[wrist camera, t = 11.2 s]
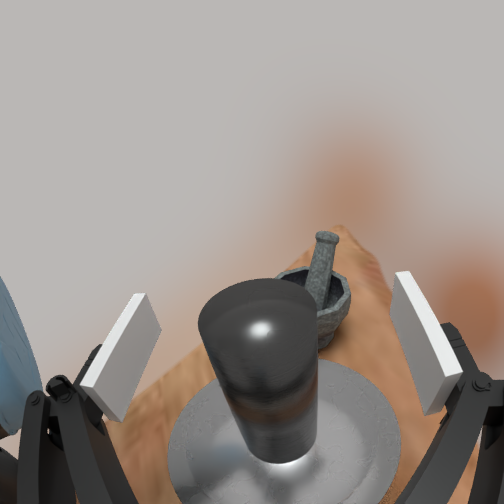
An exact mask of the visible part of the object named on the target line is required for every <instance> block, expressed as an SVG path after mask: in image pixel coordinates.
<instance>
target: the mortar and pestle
mask: <svg viewBox="0 0 504 504" xmlns="http://www.w3.org/2000/svg"><path fill="white" fill-rule="evenodd" d="M316 240H317V243H316V246H315V250H314V254H313V258H312V261H311V265H310V267H306V266H304V267H300V268H296V269H293V270H289V271H285V272H281V273H280V274H279V275H278V276H277V277H275V278H274V279H282V280H287V281H290V282H293V283H296V284H298V285H300V286H302V287H303V288H305V289H306V290H307V291H308V292H309V293H310V294H311V295H312V296H313V298H314V300H315V302H316V306H317V325H318V349H321V348H324V347H326V346H327V345H328V344H329V342H330V341H331V340H332V338H333V337H334V331H335V330H336V328H337V327H338V326H339V324H340V323H341V322H342V320H343V319H344V318H345V316H346V315H347V314H348V311H349V307H350V303H351V292H350V289H349V285H348V282H347V279H346V278H345V277H344V276H342V275H340V274H338V273H336V272H334V271H333V270H332V268H333V261H334V254H335V247H336V245H337V243H338V242H339V236H338V235H336V234H334V233H332V232H328V231H319V232H317V233H316Z"/></svg>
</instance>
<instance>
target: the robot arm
mask: <svg viewBox="0 0 504 504" xmlns="http://www.w3.org/2000/svg"><path fill="white" fill-rule="evenodd" d="M390 317H391V320H392V322H393V325H394V327H395V330H396V332H397V335H398V338H399V340H400V343H401V346H402V348H403V351H404V354H405V357H406V360H407V362H408V365H409V368H410V371H411V374H412V377H413V380H414V383H415V386H416V389H417V393H418V396H419V399H420V402H421V406H422V409H423V412H424V416H427V415H430V414H434V413H438V412H440V411H441V410H442V408H443V407H444V405H445V406H446V409H447V413H446V414H445V416H444V417H443V419H442V420H441V422H440V424H441V425H440V427H439V429H438V431H437V433H436V435H435V437H434V439H433V441H432V443H431V445H430V447H429V449H428V450H427V452H426V454H425V456H424V458H423V459H422V461H421V463H420V465H419V466H418V468H417V470H416V471H415V473H414V475H413V476H412V478H411V479H410V481H409V482H408V484H407V486H406V487H405V489H404V490H403V492H402V493H401V495H400V496H399V497H398V499H397V500H396V502H395V503H394V504H447V503H448V501H449V499H450V497H451V495H452V494H453V492H454V490H455V488H456V486H457V484H458V482H459V480H460V478H461V476H462V474H463V472H464V470H465V467H466V465H467V463H468V461H469V458H470V456H471V454H472V451H473V449H474V447H475V444H476V441H477V439H478V436H479V434H480V430H481V428H482V425H483V428H482V436H481V443H480V450H479V456H478V461H477V467H476V472H475V476H474V481H473V485H472V489H471V493H470V497H469V501H468V504H504V380H492V379H491V377H490V376H489V375H487V374H486V373H484V372H480V371H479V370H478V367H477V365H476V363H475V361H474V359H473V357H472V355H471V354H470V352H469V350H468V348H467V346H466V344H465V342H464V340H463V339H462V337H461V335H460V333H459V331H458V329H457V328H455V327H454V326H453V325H452V324H451V323H450V322H449V323H444V324H439V322H438V321H437V319H436V317H435V315H434V313H433V311H432V309H431V308H430V306H429V304H428V302H427V301H426V299H425V297H424V295H423V294H422V292H421V291H420V289H419V287H418V285H417V284H416V282H415V280H414V279H413V277H412V275H411V274H410V272H409V271H405V272H396V273H395V280H394V288H393V295H392V302H391V308H390ZM160 333H161V327H160V325H159V323H158V321H157V319H156V316H155V314H154V311H153V309H152V307H151V304H150V302H149V300H148V297H147V295H146V293H140V294H134V295H133V297H132V298H131V300H130V301H129V303H128V304H127V306H126V308H125V309H124V311H123V312H122V314H121V315H120V317H119V319H118V321H117V322H116V324H115V325H114V327H113V328H112V330H111V332H110V334H109V335H108V337H107V338H106V340H105V342H104V343H103V344H99V345H98V346H97V347H96V348H95V349H94V350H93V351H92V352H91V354H90V356H89V357H88V360H87V361H86V362H85V364H84V366H83V368H82V369H81V371H80V373H79V374H78V376H77V378H76V380H75V381H74V383H73V385H72V384H71V382H70V381H69V380H68V379H67V377H65V376H64V375H57V376H55V377H53V378H51V379H50V381H49V382H48V383H47V385H46V391H47V392H48V394H49V395H50V396H46V395H45V394H44V392H43V387H42V382H41V379H40V374H39V371H38V367H37V364H36V361H35V358H34V355H33V352H32V349H31V346H30V343H29V340H28V338H27V335H26V333H25V330H24V327H23V324H22V322H21V319H20V317H19V314H18V312H17V310H16V307H15V305H14V303H13V300H12V298H11V296H10V294H9V292H8V290H7V288H6V286H5V284H4V282H3V280H2V279H1V277H0V439H2V438H5V437H7V436H10V435H15V434H16V433H17V432H18V430H19V429H21V428H22V429H21V437H20V446H19V458H18V460H17V459H16V458H15V457H13V456H12V455H11V454H10V453H8V452H7V451H6V450H4V449H3V448H1V447H0V504H76V495H75V491H76V494H77V497H78V500H79V503H80V504H138V502H137V500H136V498H135V496H134V494H133V491H132V489H131V487H130V485H129V483H128V481H127V479H126V476H125V474H124V472H123V470H122V467H121V465H120V463H119V460H118V458H117V455H116V453H115V450H114V448H113V445H112V442H111V440H110V437H109V434H108V431H107V429H106V426H105V423H104V421H103V419H102V416H103V413H104V414H105V415H106V416H107V418H108V419H109V420H113V421H117V422H123V420H124V417H125V415H126V412H127V410H128V407H129V405H130V402H131V400H132V397H133V395H134V392H135V390H136V388H137V385H138V383H139V381H140V378H141V376H142V374H143V371H144V369H145V367H146V364H147V362H148V360H149V358H150V355H151V353H152V351H153V348H154V346H155V344H156V342H157V340H158V337H159V335H160ZM48 429H49V434H48V433H47V430H48Z"/></svg>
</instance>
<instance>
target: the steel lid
mask: <svg viewBox="0 0 504 504" xmlns="http://www.w3.org/2000/svg"><path fill="white" fill-rule="evenodd" d="M198 329H199V332H200V335H201V337H202V340H203V343H204V346H205V348H206V351H207V354H208V356H209V359H210V361H211V364H212V367H213V369H214V372H215V374H216V377H217V379H218V381H219V385H218V386H217V387H215V388H214V389H213V390H212V391H211V392H210V393H209V394H208V395H207V396H206V397H205V398H204V399H203V400H202V402H201V403H200V404H199V406H198V407H197V409H196V410H195V412H194V414H193V416H192V418H191V420H190V423H189V426H188V429H187V434H186V442H185V451H186V459H187V462H188V466H189V469H190V471H191V473H192V476H193V478H194V479H195V481H196V482H197V484H198V485H199V487H200V488H201V489H202V490H203V491H204V492H205V494H206V495H207V496H208V497H210V498H211V499H212V500H213V501H214V502H216V503H217V504H341V503H343V502H344V501H345V500H346V499H348V498H349V497H350V496H351V495H352V494H353V493H354V492H355V490H356V489H357V488H358V487H359V486H360V484H361V483H362V481H363V480H364V478H365V477H366V475H367V473H368V472H369V470H370V468H371V466H372V464H373V461H374V459H375V456H376V452H377V449H378V441H379V427H378V421H377V417H376V414H375V411H374V409H373V406H372V404H371V403H370V401H369V399H368V398H367V396H366V395H365V394H364V393H363V391H362V390H361V389H360V388H359V387H358V386H357V385H356V384H355V383H353V382H352V381H351V380H349V379H348V378H347V377H345V376H343V375H341V374H340V373H338V372H336V371H333V370H331V369H329V368H326V367H322V366H319V365H318V325H317V306H316V302H315V300H314V298H313V296H312V295H311V294H310V293H309V292H308V291H307V290H306V289H305V288H303V287H302V286H300V285H298V284H296V283H293V282H290V281H287V280H282V279H272V278H265V279H254V280H248V281H244V282H241V283H237V284H235V285H233V286H230V287H228V288H226V289H224V290H222V291H220V292H219V293H217V294H216V295H215V296H213V297H212V298H211V299H210V300H209V301H208V302H207V303H206V304H205V306H204V307H203V309H202V311H201V313H200V315H199V320H198Z"/></svg>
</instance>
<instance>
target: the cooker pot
mask: <svg viewBox="0 0 504 504" xmlns="http://www.w3.org/2000/svg"><path fill="white" fill-rule="evenodd" d="M318 365H319V366H322V367H326V368H329V369H331V370H333V371H336V372H338V373H340V374H341V375H343V376H345V377H347V378H348V379H349V380H351V381H352V382H353V383H355V384H356V385H357V386H358V387H359V388H360V389H361V390H362V391H363V393H364V394H365V395H366V396H367V398H368V399H369V401H370V403H371V404H372V406H373V409H374V411H375V414H376V417H377V421H378V427H379V441H378V449H377V452H376V456H375V459H374V461H373V464H372V466H371V468H370V470H369V472H368V473H367V475H366V477H365V478H364V480H363V481H362V483H361V484H360V486H359V487H358V488H357V489H356V490H355V492H354V493H353V494H352V495H351V496H350V497H349V498H348V499H346V500H345V501H344V502H343V503H341V504H378V503H379V502H380V500H381V499H382V498H383V497H384V495H385V493H386V492H387V490H388V488H389V487H390V485H391V483H392V481H393V478H394V476H395V474H396V471H397V467H398V463H399V459H400V451H401V438H400V429H399V425H398V421H397V418H396V416H395V413H394V411H393V409H392V407H391V405H390V404H389V402H388V400H387V399H386V397H385V396H384V395H383V394H382V393H381V391H380V390H379V389H378V388H377V387H376V386H375V385H374V384H373V383H371V382H370V381H369V380H368V379H366V378H365V377H364V376H362V375H361V374H359V373H357V372H356V371H354V370H352V369H350V368H348V367H345V366H343V365H340V364H338V363H335V362H331V361H328V360H324V359H318ZM218 385H219V381H218V379H217V378H216V379H214V380H213V381H212V382H210V383H209V384H207V385H206V386H205V387H204V388H202V389H201V390H200V391H199V392H198V393H197V394H196V395H195V396H194V397H193V398H192V399H191V400H190V401H189V402H188V404H187V405H186V406H185V408H184V409H183V410H182V412H181V414H180V415H179V417H178V419H177V421H176V423H175V425H174V428H173V430H172V433H171V437H170V441H169V445H168V456H167V457H168V470H169V474H170V478H171V482H172V485H173V487H174V489H175V492H176V494H177V496H178V497H179V499H180V501H181V502H182V504H217V503H216V502H214V501H213V500H212V499H211V498H210V497H208V496H207V495H206V494H205V492H204V491H203V490H202V489H201V488H200V487H199V485H198V484H197V482H196V481H195V479H194V478H193V476H192V473H191V471H190V469H189V466H188V462H187V459H186V451H185V442H186V434H187V429H188V426H189V423H190V420H191V418H192V416H193V414H194V412H195V410H196V409H197V407H198V406H199V404H200V403H201V402H202V400H203V399H204V398H205V397H206V396H207V395H208V394H209V393H210V392H211V391H212V390H213V389H214V388H215V387H217V386H218Z"/></svg>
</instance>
